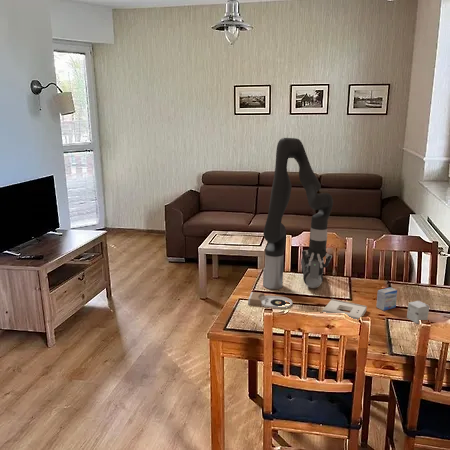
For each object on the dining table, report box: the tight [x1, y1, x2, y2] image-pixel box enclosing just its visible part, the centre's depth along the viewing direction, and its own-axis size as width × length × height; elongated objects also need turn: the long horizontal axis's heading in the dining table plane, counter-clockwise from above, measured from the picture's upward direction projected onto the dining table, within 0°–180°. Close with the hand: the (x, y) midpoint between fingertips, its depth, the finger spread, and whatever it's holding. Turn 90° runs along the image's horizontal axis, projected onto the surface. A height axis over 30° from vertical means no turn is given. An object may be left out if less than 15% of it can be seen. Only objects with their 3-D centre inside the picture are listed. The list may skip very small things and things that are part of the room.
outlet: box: [321, 298, 368, 320], centre depth 200 cm, size 16×14×2 cm
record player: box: [247, 291, 293, 309], centre depth 210 cm, size 12×3×20 cm
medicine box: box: [376, 286, 398, 312], centre depth 204 cm, size 8×4×9 cm, turn 117°
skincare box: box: [406, 300, 430, 324], centre depth 193 cm, size 6×6×7 cm
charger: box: [310, 260, 321, 279], centre depth 203 cm, size 4×4×8 cm
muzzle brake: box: [300, 254, 324, 289], centre depth 237 cm, size 10×28×10 cm, turn 174°
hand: (315, 273), depth 204 cm, fingers closed on charger, 4 cm apart
